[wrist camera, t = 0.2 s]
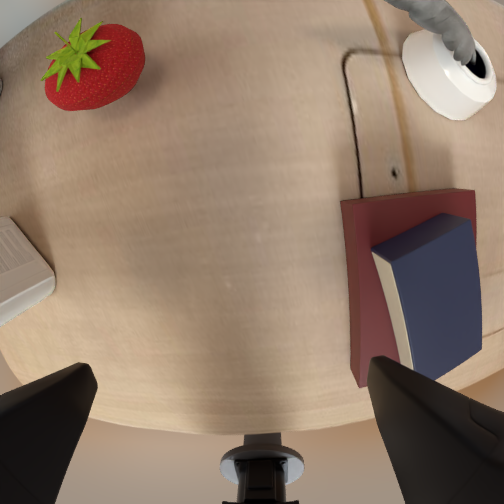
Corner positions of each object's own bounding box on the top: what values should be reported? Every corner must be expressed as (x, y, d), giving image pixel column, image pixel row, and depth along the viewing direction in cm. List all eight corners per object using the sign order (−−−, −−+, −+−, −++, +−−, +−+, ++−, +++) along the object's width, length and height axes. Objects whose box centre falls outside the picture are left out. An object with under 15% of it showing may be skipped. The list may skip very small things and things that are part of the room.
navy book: (460, 330, 19) (482, 349, 16) (400, 366, 20) (416, 390, 17) (442, 212, 17) (471, 218, 14) (369, 248, 18) (390, 262, 14)
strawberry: (85, 78, 18) (11, 44, 8) (161, 43, 18) (108, -22, 8) (92, 135, 19) (7, 120, 10) (174, 101, 19) (112, 50, 9)
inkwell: (483, 131, 18) (559, 123, 8) (300, 93, 18) (327, 28, 9) (469, 49, 16) (529, 18, 6) (296, 2, 16) (310, -77, 7)
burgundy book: (448, 340, 23) (462, 354, 20) (350, 368, 24) (358, 388, 21) (454, 188, 19) (475, 190, 16) (340, 201, 20) (352, 204, 17)
